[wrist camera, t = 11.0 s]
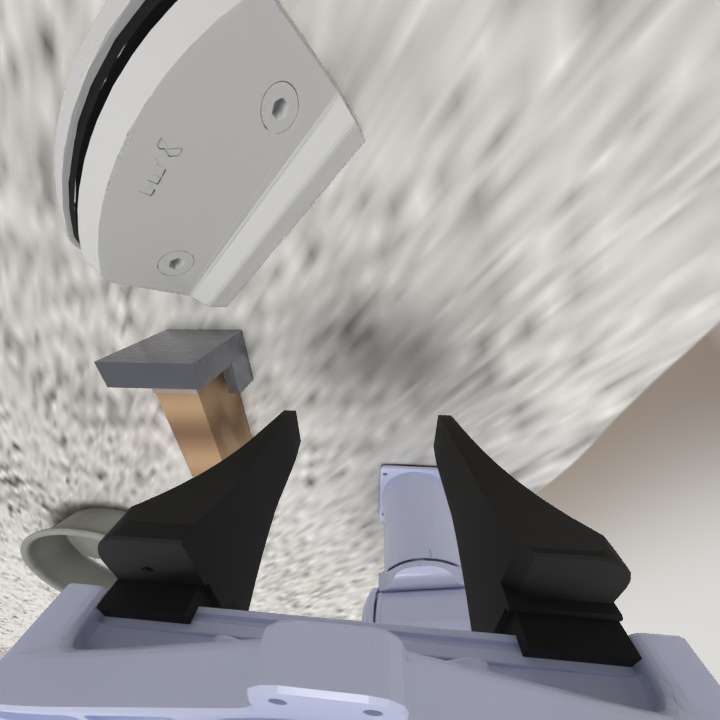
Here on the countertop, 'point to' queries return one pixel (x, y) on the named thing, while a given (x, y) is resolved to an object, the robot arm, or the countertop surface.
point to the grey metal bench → (180, 361)
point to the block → (205, 422)
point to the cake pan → (72, 549)
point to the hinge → (194, 142)
